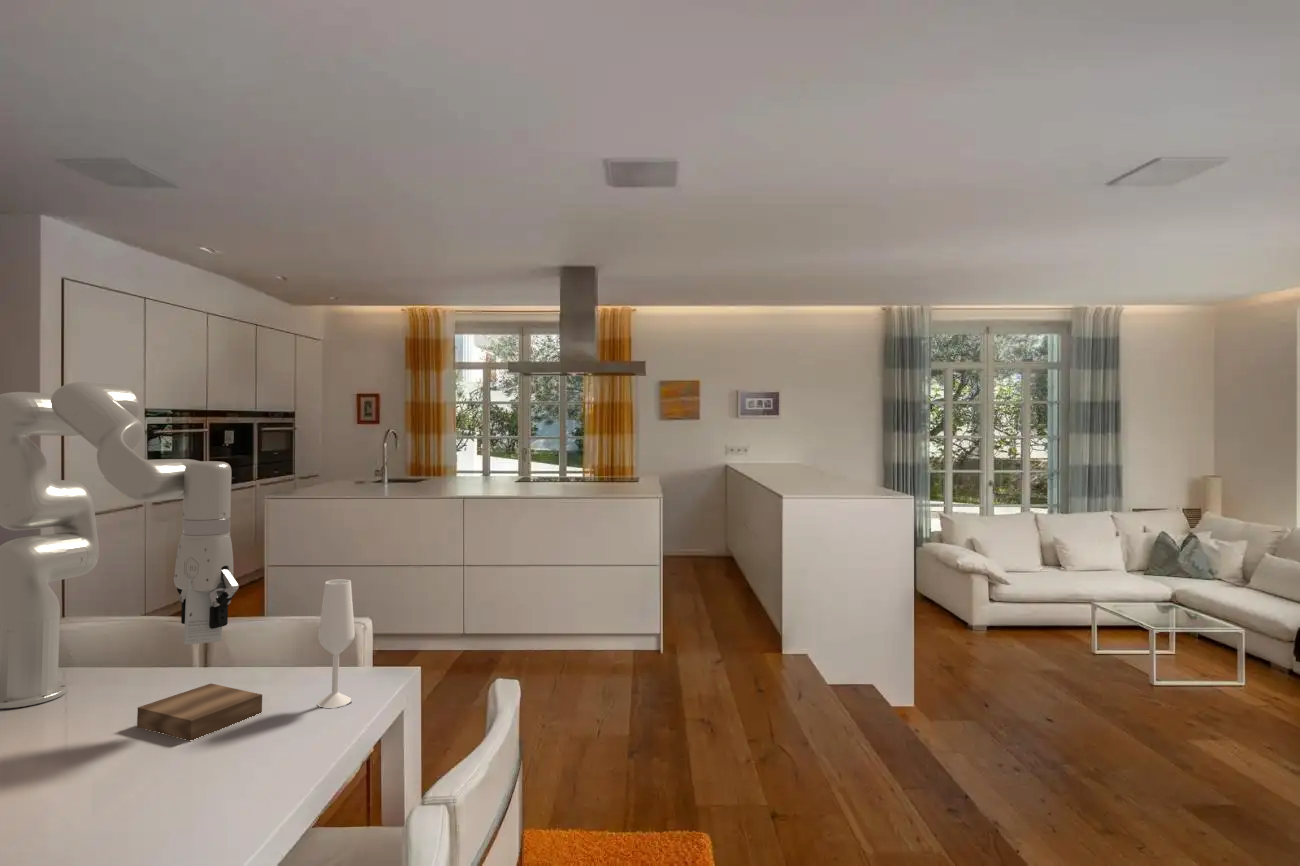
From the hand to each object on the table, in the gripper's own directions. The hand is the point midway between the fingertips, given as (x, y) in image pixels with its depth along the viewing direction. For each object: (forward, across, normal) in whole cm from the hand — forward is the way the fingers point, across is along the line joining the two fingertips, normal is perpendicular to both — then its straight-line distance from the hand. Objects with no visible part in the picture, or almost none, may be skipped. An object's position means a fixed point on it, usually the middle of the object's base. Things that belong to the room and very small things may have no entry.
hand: (204, 623), depth 133 cm
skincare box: (+3, 0, 0) cm, 3 cm away
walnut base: (+18, 0, 0) cm, 18 cm away
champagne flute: (+18, +15, +17) cm, 29 cm away
